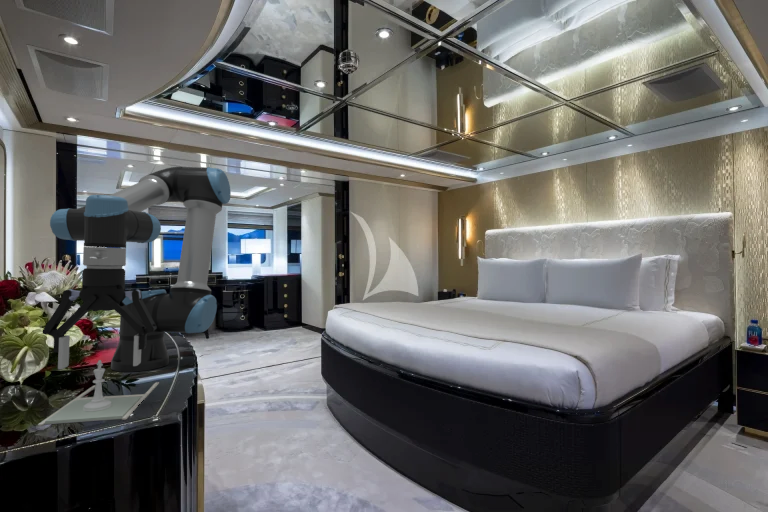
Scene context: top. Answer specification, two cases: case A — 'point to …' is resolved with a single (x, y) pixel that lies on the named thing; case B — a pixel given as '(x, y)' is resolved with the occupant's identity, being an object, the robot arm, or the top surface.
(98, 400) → the chess piece
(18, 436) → the top surface
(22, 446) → the top surface
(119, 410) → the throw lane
